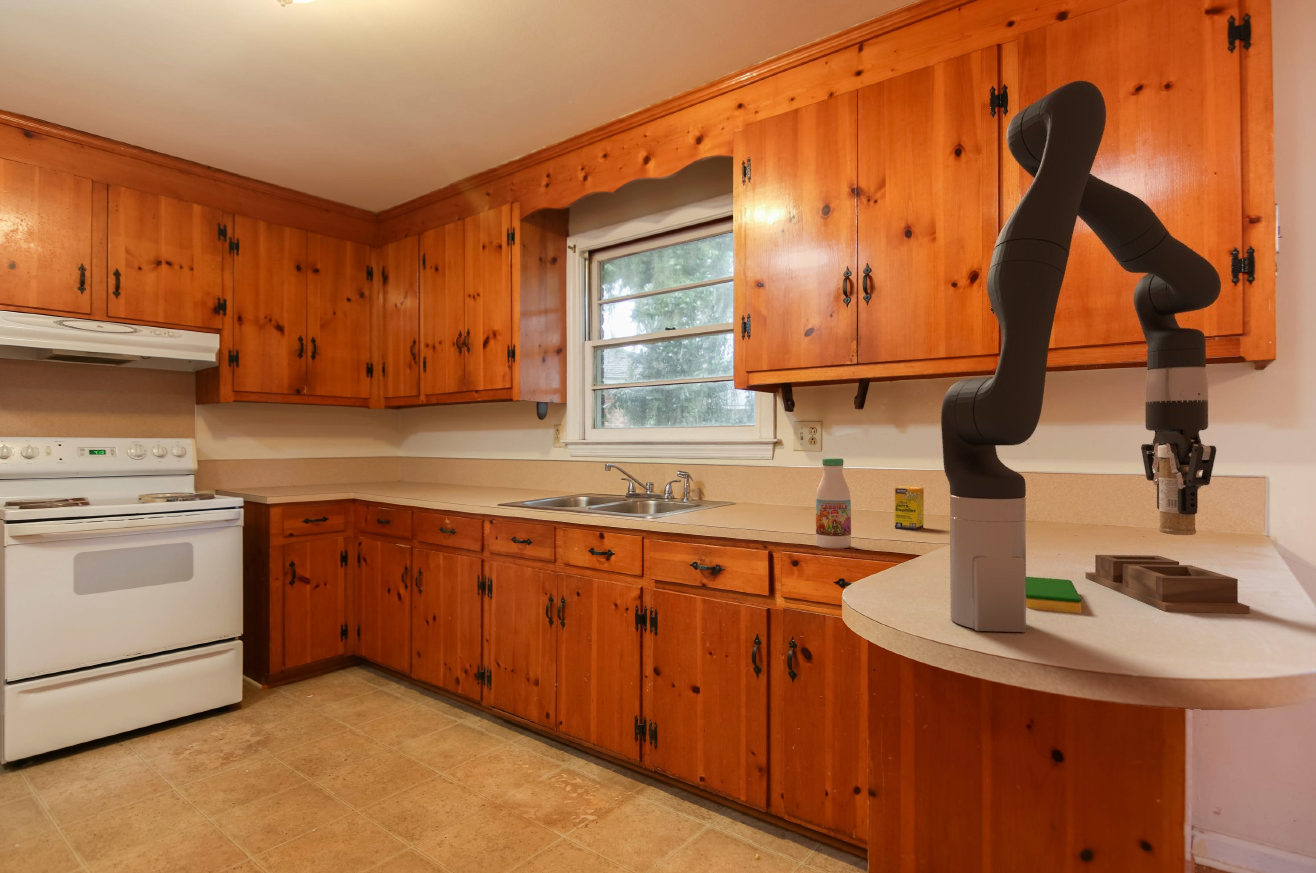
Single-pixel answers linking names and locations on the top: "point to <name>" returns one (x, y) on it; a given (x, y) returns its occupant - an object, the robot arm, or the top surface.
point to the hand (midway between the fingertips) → (1176, 511)
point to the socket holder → (1168, 584)
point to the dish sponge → (1052, 595)
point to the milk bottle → (833, 507)
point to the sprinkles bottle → (1171, 500)
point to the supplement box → (909, 507)
